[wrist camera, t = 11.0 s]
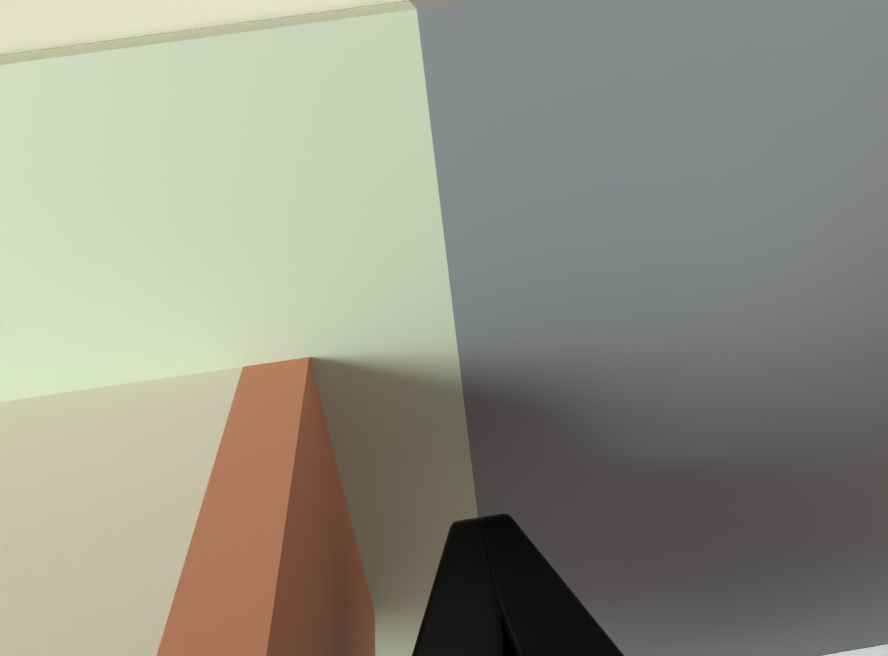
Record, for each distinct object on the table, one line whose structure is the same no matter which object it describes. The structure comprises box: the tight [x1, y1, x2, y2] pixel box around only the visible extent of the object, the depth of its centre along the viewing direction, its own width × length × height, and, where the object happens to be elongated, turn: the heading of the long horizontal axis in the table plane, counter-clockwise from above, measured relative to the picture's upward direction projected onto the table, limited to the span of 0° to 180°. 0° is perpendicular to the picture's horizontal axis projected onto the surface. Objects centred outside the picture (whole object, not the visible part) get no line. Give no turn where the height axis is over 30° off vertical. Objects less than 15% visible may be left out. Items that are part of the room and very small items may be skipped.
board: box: [0, 0, 888, 656], centre depth 10 cm, size 28×12×1 cm, turn 97°
